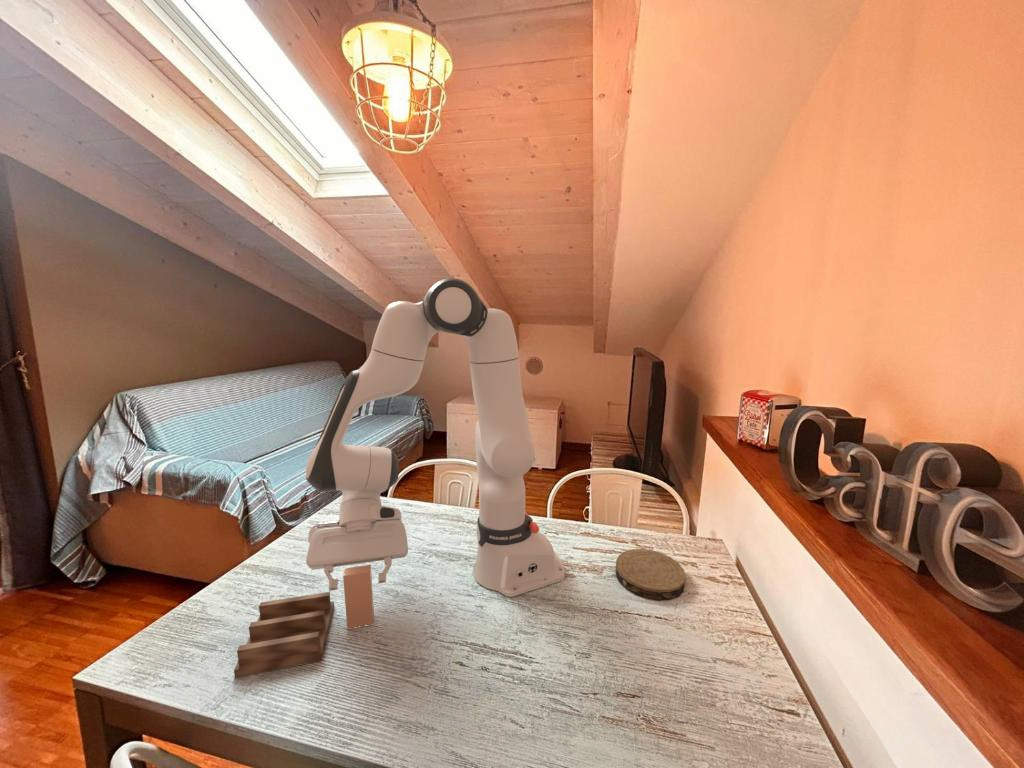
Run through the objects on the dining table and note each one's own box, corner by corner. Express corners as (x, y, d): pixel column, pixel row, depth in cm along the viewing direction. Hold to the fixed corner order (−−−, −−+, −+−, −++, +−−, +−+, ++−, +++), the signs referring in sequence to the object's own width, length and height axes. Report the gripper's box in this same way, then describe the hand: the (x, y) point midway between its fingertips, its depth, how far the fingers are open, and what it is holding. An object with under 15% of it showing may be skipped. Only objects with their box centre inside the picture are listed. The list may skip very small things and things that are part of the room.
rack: (334, 607, 88) (332, 588, 87) (321, 660, 74) (319, 639, 73) (261, 619, 84) (259, 600, 83) (234, 677, 71) (231, 655, 70)
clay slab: (374, 616, 85) (370, 564, 83) (373, 624, 83) (369, 571, 81) (348, 620, 84) (344, 568, 82) (347, 629, 82) (343, 575, 80)
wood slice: (644, 552, 109) (645, 542, 108) (699, 586, 96) (700, 574, 95) (601, 572, 100) (602, 561, 100) (654, 612, 87) (655, 599, 87)
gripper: (306, 519, 85) (298, 591, 78) (406, 508, 90) (408, 575, 83) (312, 528, 90) (305, 596, 83) (407, 517, 95) (409, 581, 88)
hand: (358, 586), depth 83 cm, fingers open, 8 cm apart
